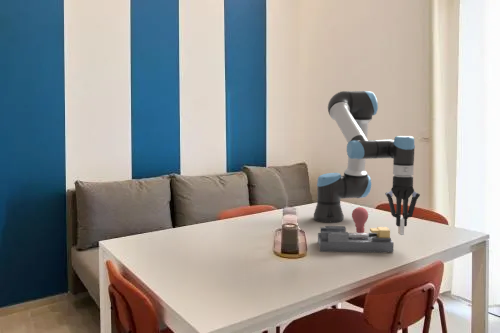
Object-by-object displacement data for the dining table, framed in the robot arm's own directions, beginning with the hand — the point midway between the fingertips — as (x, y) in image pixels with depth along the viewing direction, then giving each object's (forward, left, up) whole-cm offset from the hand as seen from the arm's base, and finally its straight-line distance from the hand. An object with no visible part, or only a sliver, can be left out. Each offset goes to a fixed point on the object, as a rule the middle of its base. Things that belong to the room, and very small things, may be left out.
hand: (401, 234), depth 166 cm
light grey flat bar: (-15, -15, -1) cm, 22 cm away
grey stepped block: (-13, -13, -6) cm, 19 cm away
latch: (-6, -6, -2) cm, 9 cm away
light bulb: (-23, +5, -6) cm, 24 cm away
